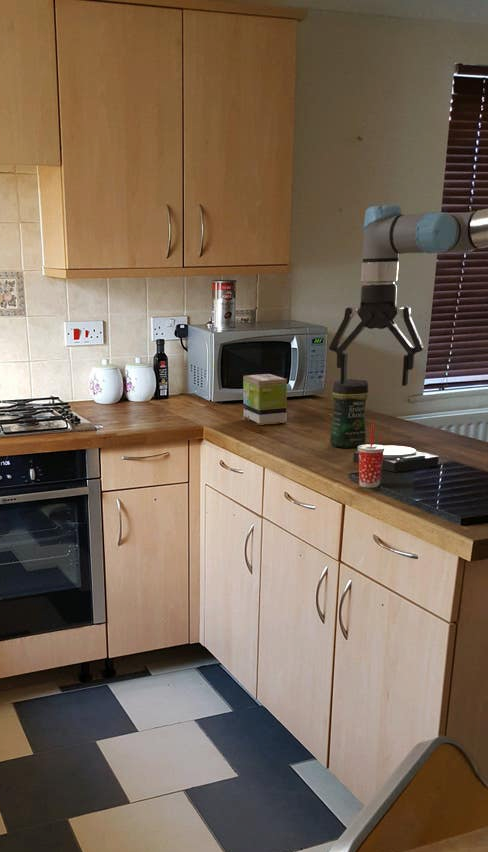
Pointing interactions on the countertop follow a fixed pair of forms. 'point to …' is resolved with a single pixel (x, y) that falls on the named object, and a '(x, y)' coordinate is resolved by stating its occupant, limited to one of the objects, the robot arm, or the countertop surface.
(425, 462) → the kitchen scale
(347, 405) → the coffee jar
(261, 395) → the tea box
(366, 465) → the beverage cup
